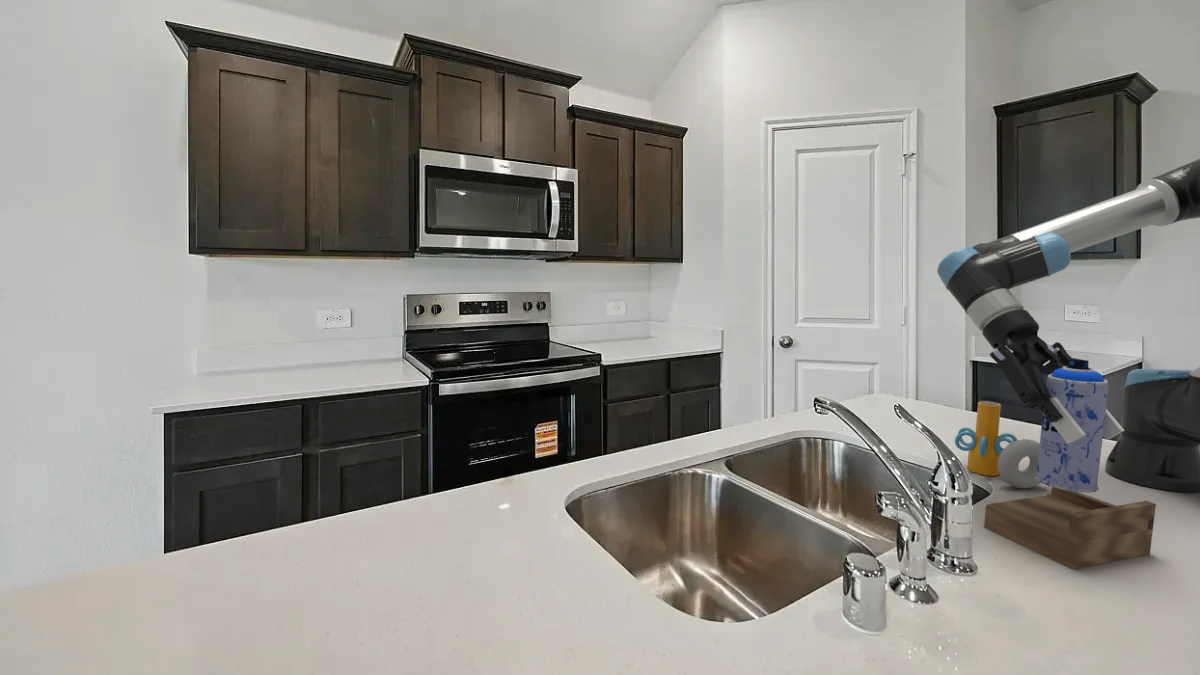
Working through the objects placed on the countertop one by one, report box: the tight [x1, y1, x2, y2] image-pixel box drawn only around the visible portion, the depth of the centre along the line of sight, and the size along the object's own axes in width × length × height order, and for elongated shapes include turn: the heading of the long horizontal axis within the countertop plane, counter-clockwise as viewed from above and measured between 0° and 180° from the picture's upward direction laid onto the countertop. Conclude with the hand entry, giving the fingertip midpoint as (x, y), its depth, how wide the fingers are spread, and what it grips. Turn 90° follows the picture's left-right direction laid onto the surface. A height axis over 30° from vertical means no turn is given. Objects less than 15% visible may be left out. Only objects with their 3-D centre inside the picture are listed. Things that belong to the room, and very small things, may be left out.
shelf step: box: [983, 487, 1157, 570], centre depth 90 cm, size 16×14×8 cm
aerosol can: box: [1035, 357, 1110, 493], centre depth 88 cm, size 8×8×20 cm
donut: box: [998, 438, 1042, 489], centre depth 111 cm, size 10×3×10 cm, turn 93°
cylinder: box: [954, 400, 1018, 477], centre depth 119 cm, size 12×10×15 cm
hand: (1095, 436), depth 85 cm, fingers closed on aerosol can, 7 cm apart
